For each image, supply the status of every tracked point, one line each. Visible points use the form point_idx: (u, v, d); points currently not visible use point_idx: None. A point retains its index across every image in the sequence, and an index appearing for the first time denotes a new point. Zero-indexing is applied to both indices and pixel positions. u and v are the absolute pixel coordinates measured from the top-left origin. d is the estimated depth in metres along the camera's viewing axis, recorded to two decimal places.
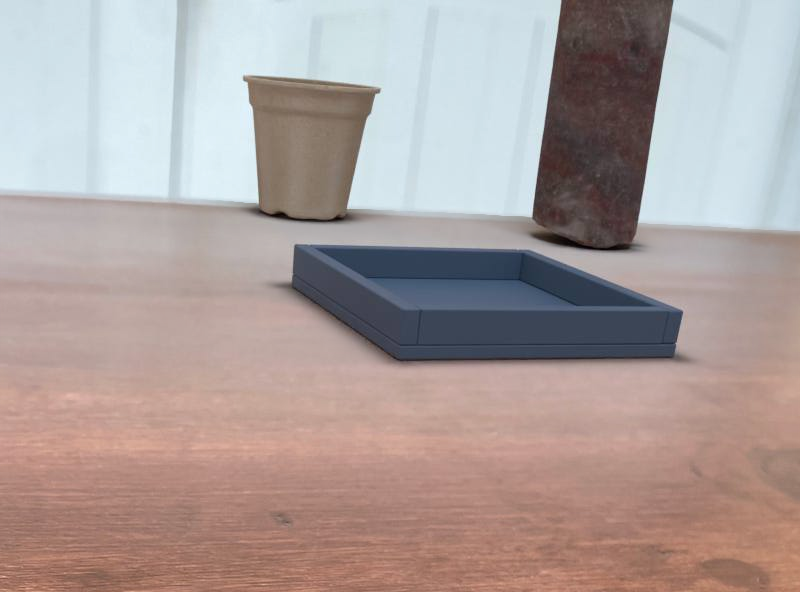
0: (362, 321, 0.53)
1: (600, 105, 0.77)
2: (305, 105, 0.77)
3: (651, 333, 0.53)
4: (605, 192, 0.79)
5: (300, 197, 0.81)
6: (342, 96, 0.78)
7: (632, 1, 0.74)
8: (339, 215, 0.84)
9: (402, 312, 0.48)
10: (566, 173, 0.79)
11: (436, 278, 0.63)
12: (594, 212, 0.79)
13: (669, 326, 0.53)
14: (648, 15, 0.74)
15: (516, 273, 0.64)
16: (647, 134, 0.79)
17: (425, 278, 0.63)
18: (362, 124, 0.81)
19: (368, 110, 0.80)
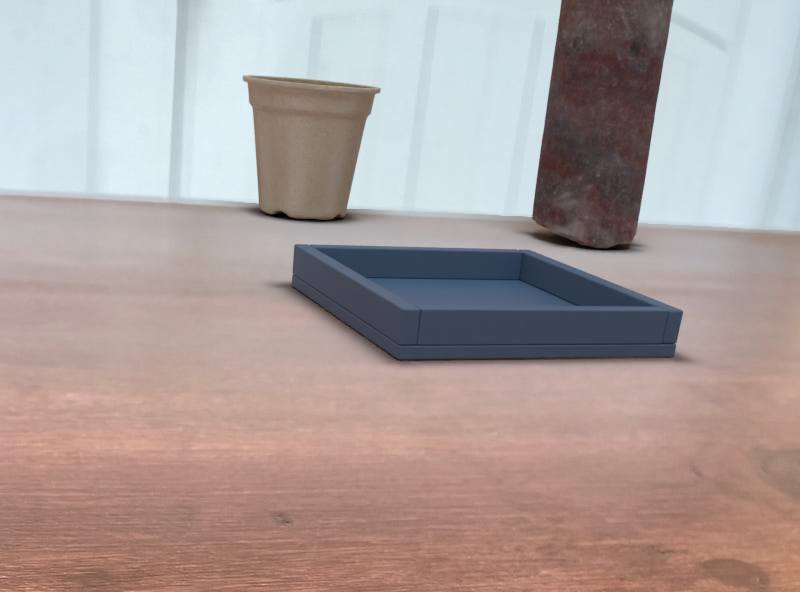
0: (362, 321, 0.53)
1: (600, 105, 0.77)
2: (305, 105, 0.77)
3: (651, 333, 0.53)
4: (605, 192, 0.79)
5: (300, 197, 0.81)
6: (342, 96, 0.78)
7: (632, 1, 0.74)
8: (339, 215, 0.84)
9: (402, 312, 0.48)
10: (566, 173, 0.79)
11: (436, 278, 0.63)
12: (594, 212, 0.79)
13: (669, 326, 0.53)
14: (648, 15, 0.74)
15: (516, 273, 0.64)
16: (647, 134, 0.79)
17: (425, 278, 0.63)
18: (362, 124, 0.81)
19: (368, 110, 0.80)
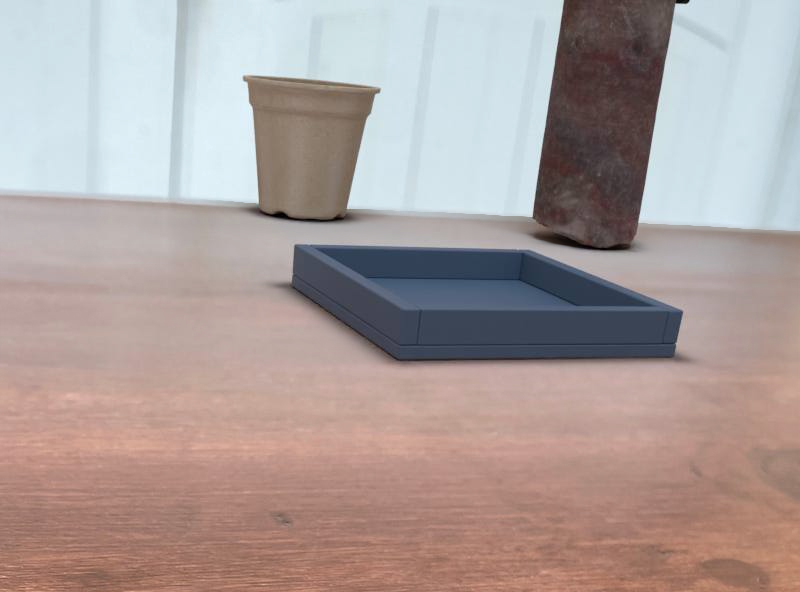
0: (362, 321, 0.53)
1: (601, 104, 0.77)
2: (305, 105, 0.77)
3: (651, 333, 0.53)
4: (606, 191, 0.79)
5: (300, 197, 0.81)
6: (342, 96, 0.78)
7: (635, 0, 0.74)
8: (339, 215, 0.84)
9: (402, 312, 0.48)
10: (567, 172, 0.79)
11: (436, 278, 0.63)
12: (594, 211, 0.79)
13: (669, 326, 0.53)
14: (650, 14, 0.74)
15: (516, 273, 0.64)
16: (648, 134, 0.79)
17: (425, 278, 0.63)
18: (362, 124, 0.81)
19: (368, 110, 0.80)
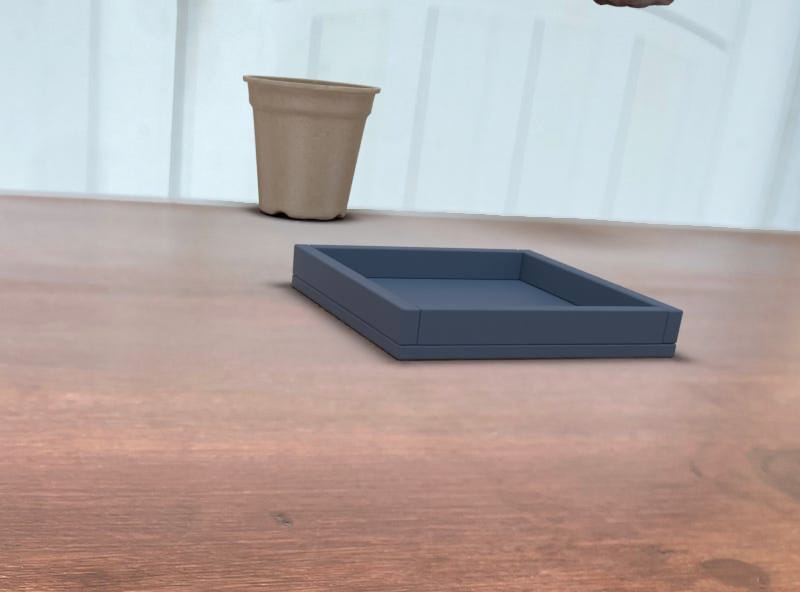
0: (362, 321, 0.53)
1: None
2: (305, 105, 0.77)
3: (651, 333, 0.53)
4: None
5: (300, 197, 0.81)
6: (342, 96, 0.78)
7: None
8: (339, 215, 0.84)
9: (402, 312, 0.48)
10: None
11: (436, 278, 0.63)
12: None
13: (669, 326, 0.53)
14: None
15: (516, 273, 0.64)
16: None
17: (425, 278, 0.63)
18: (362, 124, 0.81)
19: (368, 110, 0.80)
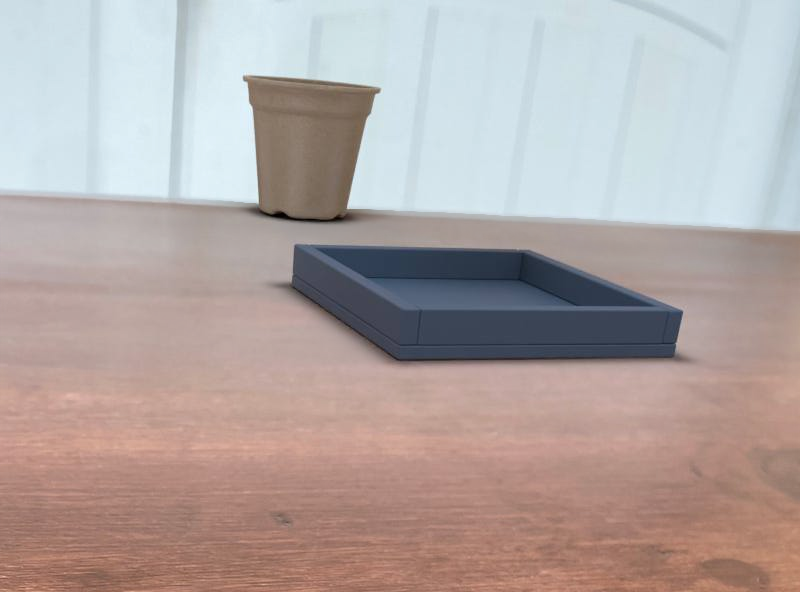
0: (362, 321, 0.53)
1: None
2: (305, 105, 0.77)
3: (651, 333, 0.53)
4: None
5: (300, 197, 0.81)
6: (342, 96, 0.78)
7: None
8: (339, 215, 0.84)
9: (402, 312, 0.48)
10: None
11: (436, 278, 0.63)
12: None
13: (669, 326, 0.53)
14: None
15: (516, 273, 0.64)
16: None
17: (425, 278, 0.63)
18: (362, 124, 0.81)
19: (368, 110, 0.80)
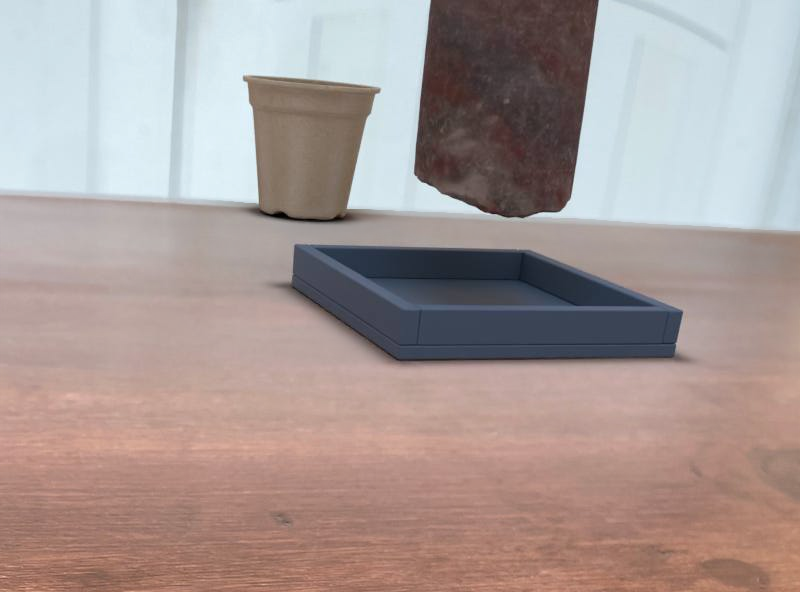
0: (362, 321, 0.53)
1: None
2: (305, 105, 0.77)
3: (651, 333, 0.53)
4: (519, 128, 0.50)
5: (300, 197, 0.81)
6: (342, 96, 0.78)
7: None
8: (339, 215, 0.84)
9: (402, 312, 0.48)
10: (457, 98, 0.50)
11: (436, 278, 0.63)
12: (501, 160, 0.51)
13: (669, 326, 0.53)
14: None
15: (516, 273, 0.64)
16: (584, 38, 0.50)
17: (425, 278, 0.63)
18: (362, 124, 0.81)
19: (368, 110, 0.80)
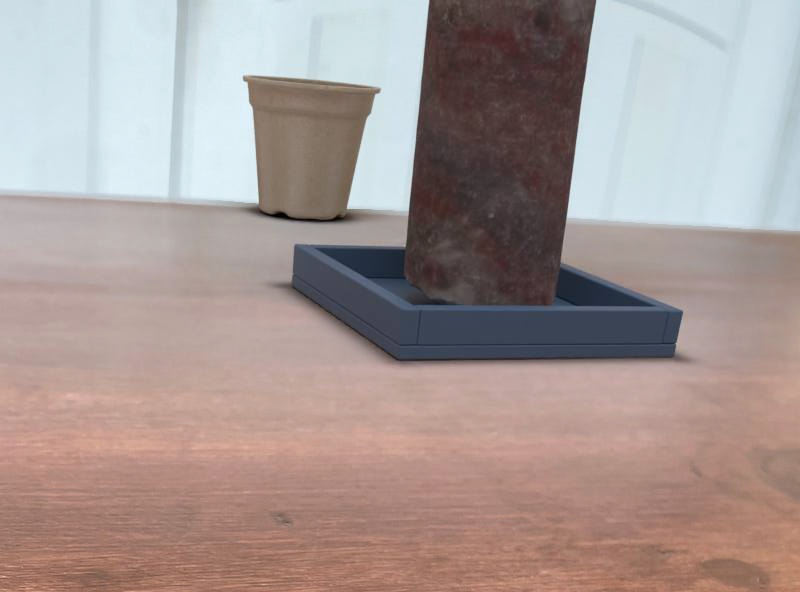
0: (362, 321, 0.53)
1: (490, 109, 0.50)
2: (305, 105, 0.77)
3: (651, 333, 0.53)
4: (503, 240, 0.52)
5: (300, 197, 0.81)
6: (342, 96, 0.78)
7: None
8: (339, 215, 0.84)
9: (402, 312, 0.48)
10: (444, 211, 0.53)
11: None
12: (487, 269, 0.53)
13: (669, 326, 0.53)
14: None
15: None
16: (566, 154, 0.52)
17: None
18: (362, 124, 0.81)
19: (368, 110, 0.80)
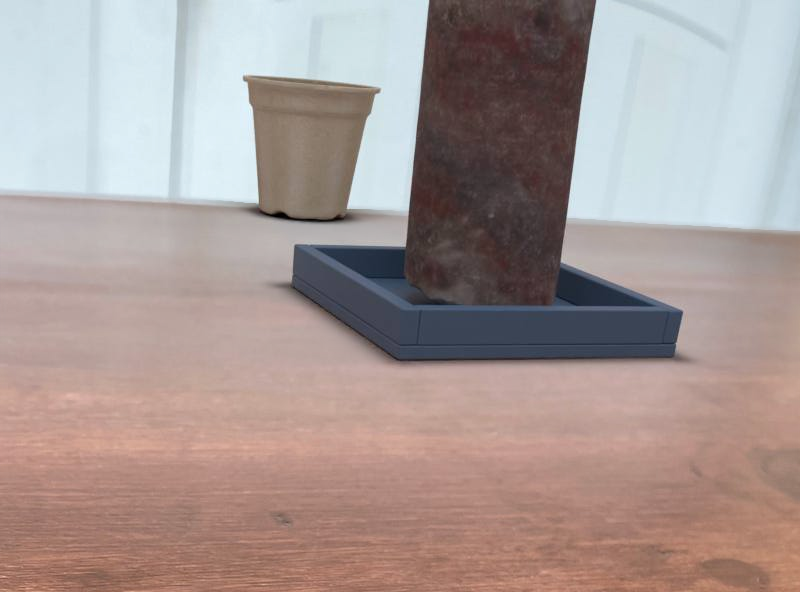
0: (362, 321, 0.53)
1: (490, 109, 0.50)
2: (305, 105, 0.77)
3: (651, 333, 0.53)
4: (503, 240, 0.52)
5: (300, 197, 0.81)
6: (342, 96, 0.78)
7: None
8: (339, 215, 0.84)
9: (402, 312, 0.48)
10: (444, 211, 0.53)
11: None
12: (487, 269, 0.53)
13: (669, 326, 0.53)
14: None
15: None
16: (566, 154, 0.52)
17: None
18: (362, 124, 0.81)
19: (368, 110, 0.80)
